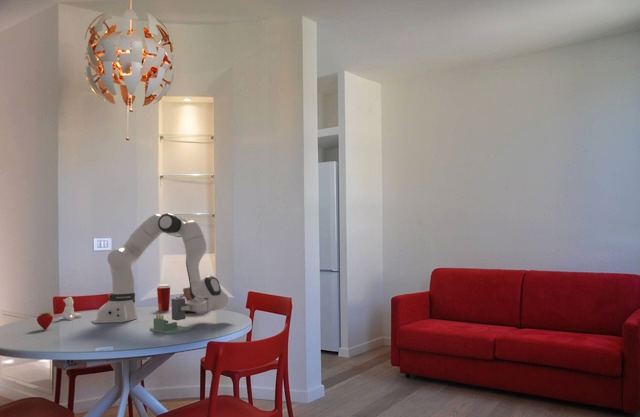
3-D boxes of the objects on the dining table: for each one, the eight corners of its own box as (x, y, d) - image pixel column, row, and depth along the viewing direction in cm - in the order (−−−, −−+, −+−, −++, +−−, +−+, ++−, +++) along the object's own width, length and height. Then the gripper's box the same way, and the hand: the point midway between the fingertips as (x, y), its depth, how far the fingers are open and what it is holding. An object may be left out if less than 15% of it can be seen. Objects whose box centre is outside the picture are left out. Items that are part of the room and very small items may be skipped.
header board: (171, 326, 265) (171, 310, 265) (190, 330, 254) (190, 313, 254) (149, 330, 255) (149, 313, 256) (168, 334, 245) (168, 316, 245)
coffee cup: (173, 309, 321) (172, 284, 321) (167, 311, 313) (167, 285, 313) (159, 309, 322) (159, 284, 322) (154, 311, 314) (153, 285, 314)
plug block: (179, 318, 262) (179, 296, 262) (185, 318, 259) (184, 297, 259) (171, 319, 258) (171, 297, 258) (177, 320, 255) (176, 298, 255)
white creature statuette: (71, 320, 286) (71, 298, 286) (57, 320, 288) (57, 298, 288) (82, 317, 295) (82, 295, 296) (68, 317, 297) (68, 295, 297)
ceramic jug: (201, 308, 321) (201, 285, 321) (213, 311, 310) (212, 286, 310) (173, 312, 309) (173, 288, 309) (185, 315, 298) (184, 290, 298)
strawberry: (34, 330, 260) (34, 309, 260) (48, 327, 266) (49, 307, 267) (40, 331, 257) (40, 310, 257) (55, 328, 263) (55, 308, 263)
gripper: (188, 296, 275) (164, 300, 265) (212, 299, 262) (189, 303, 251) (188, 308, 275) (164, 312, 264) (212, 312, 262) (189, 316, 251)
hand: (176, 308), depth 258 cm, fingers closed on plug block, 5 cm apart
